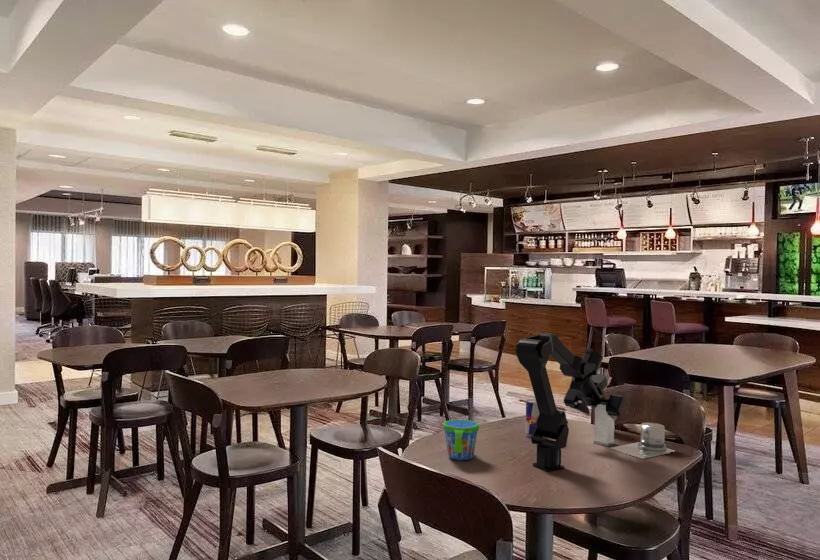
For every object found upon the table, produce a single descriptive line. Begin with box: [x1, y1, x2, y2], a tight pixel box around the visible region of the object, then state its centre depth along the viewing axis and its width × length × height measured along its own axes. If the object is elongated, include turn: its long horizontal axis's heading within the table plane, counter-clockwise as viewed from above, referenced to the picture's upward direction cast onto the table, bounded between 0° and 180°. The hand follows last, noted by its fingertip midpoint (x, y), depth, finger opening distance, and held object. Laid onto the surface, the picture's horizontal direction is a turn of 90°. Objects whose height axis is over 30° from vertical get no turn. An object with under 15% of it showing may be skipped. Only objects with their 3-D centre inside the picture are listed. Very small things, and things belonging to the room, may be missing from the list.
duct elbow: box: [593, 396, 616, 447], centre depth 195 cm, size 8×5×14 cm, turn 135°
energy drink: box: [525, 399, 539, 439], centre depth 201 cm, size 5×5×12 cm
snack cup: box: [442, 419, 480, 461], centre depth 177 cm, size 16×10×10 cm
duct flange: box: [609, 422, 676, 460], centre depth 187 cm, size 17×12×7 cm
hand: (602, 416), depth 192 cm, fingers open, 9 cm apart
